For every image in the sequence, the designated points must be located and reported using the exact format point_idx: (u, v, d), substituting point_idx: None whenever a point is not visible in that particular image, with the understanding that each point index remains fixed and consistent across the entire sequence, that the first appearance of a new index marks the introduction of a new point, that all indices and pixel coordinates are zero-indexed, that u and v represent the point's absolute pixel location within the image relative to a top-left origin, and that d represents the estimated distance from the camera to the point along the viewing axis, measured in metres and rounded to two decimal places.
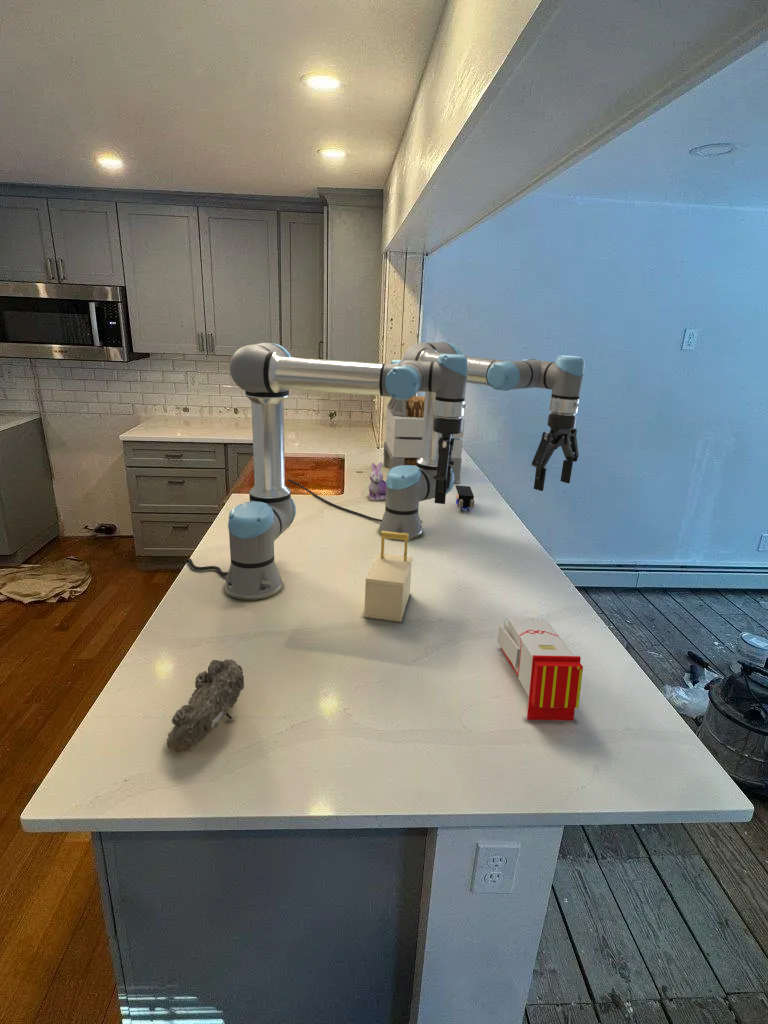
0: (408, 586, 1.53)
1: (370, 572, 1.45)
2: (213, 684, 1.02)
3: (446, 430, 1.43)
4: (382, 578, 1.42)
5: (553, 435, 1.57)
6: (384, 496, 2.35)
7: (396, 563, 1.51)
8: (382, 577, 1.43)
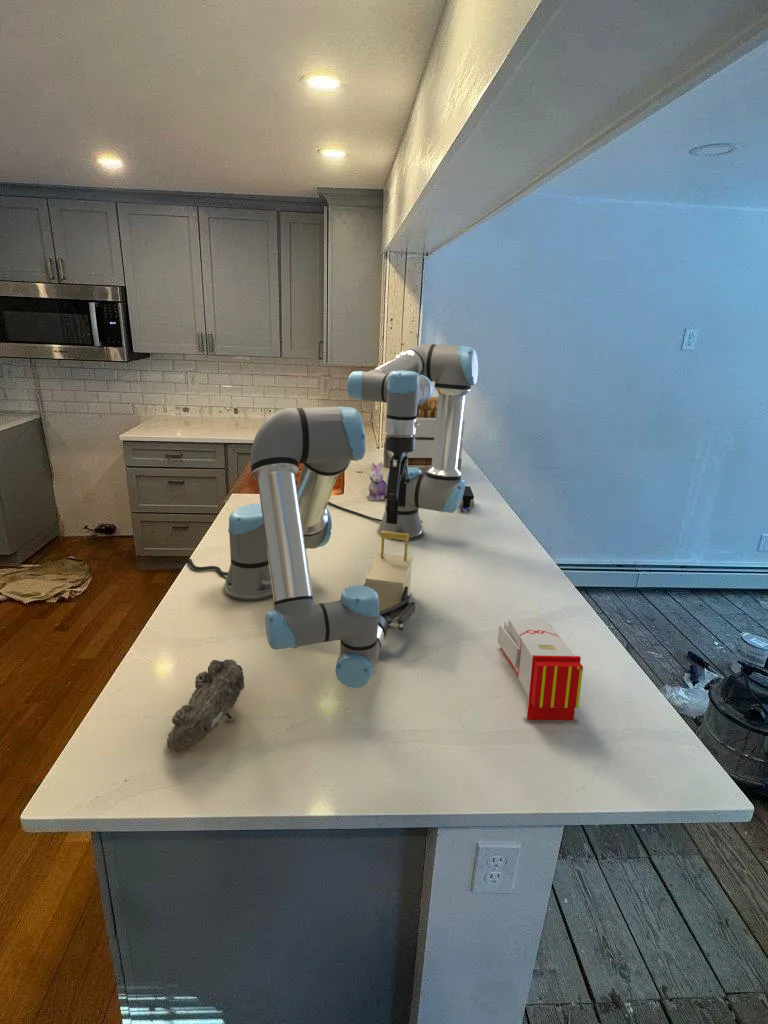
0: (408, 586, 1.53)
1: (370, 572, 1.45)
2: (213, 684, 1.02)
3: None
4: (382, 578, 1.42)
5: None
6: None
7: (396, 563, 1.51)
8: (382, 577, 1.43)
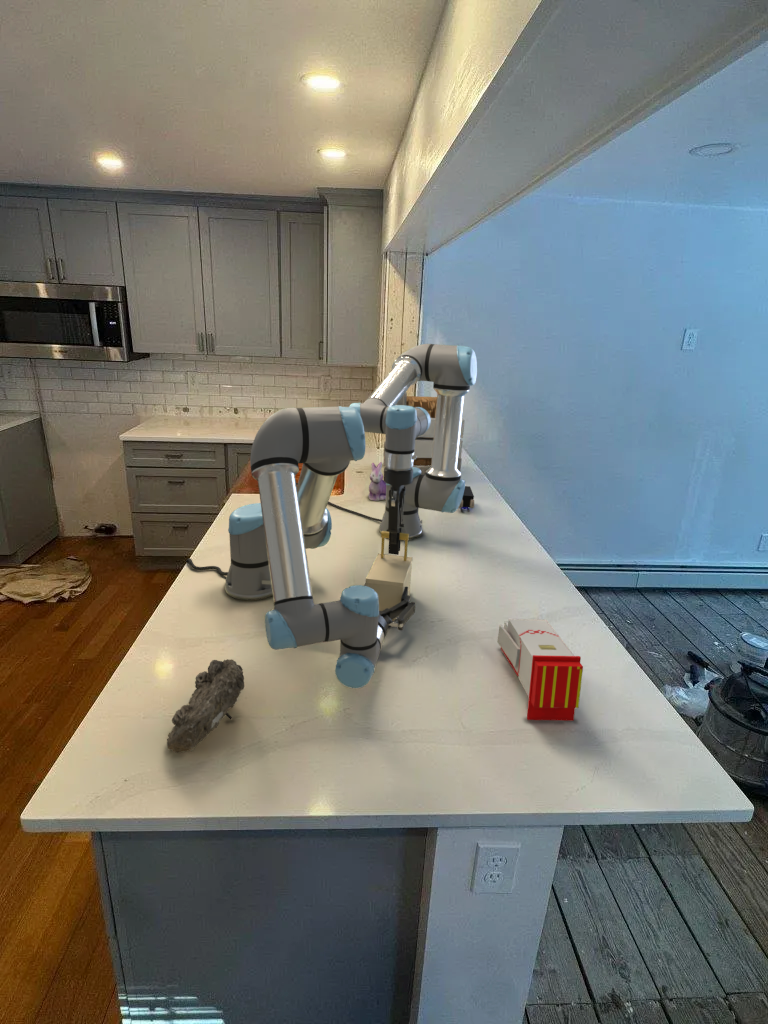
0: (408, 586, 1.53)
1: (370, 572, 1.45)
2: (213, 684, 1.02)
3: None
4: (382, 578, 1.42)
5: (397, 493, 1.43)
6: (384, 496, 2.35)
7: (396, 563, 1.51)
8: (382, 577, 1.42)
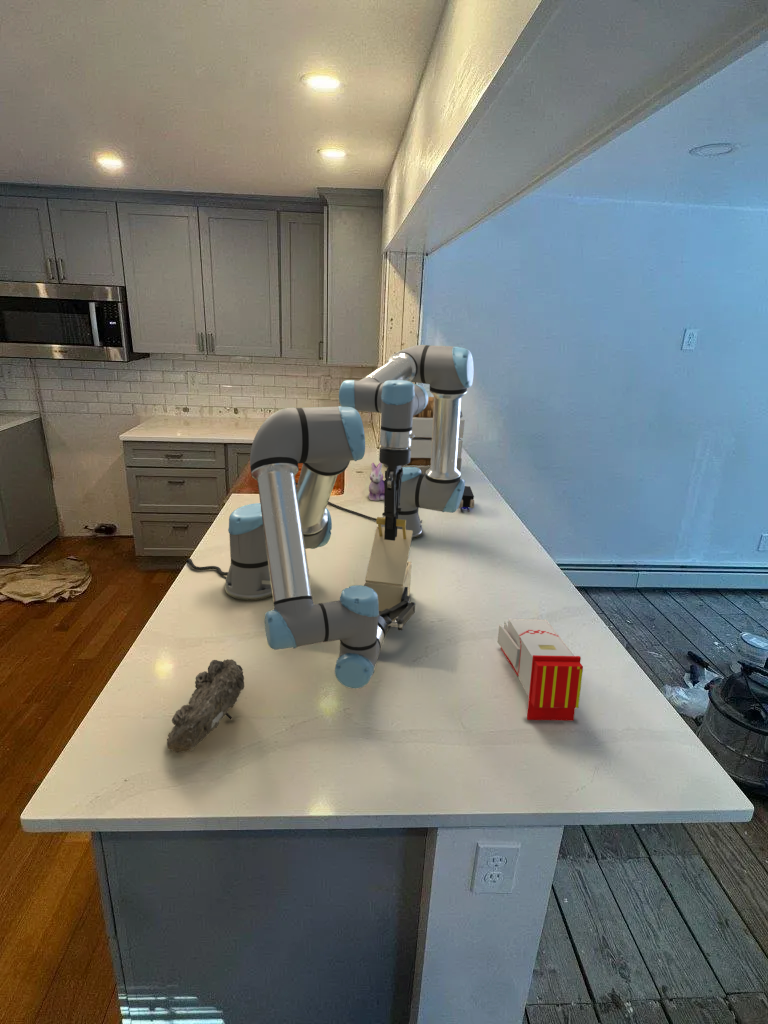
0: (408, 586, 1.52)
1: (369, 567, 1.43)
2: (213, 684, 1.02)
3: None
4: (381, 577, 1.41)
5: (393, 474, 1.34)
6: None
7: (396, 546, 1.46)
8: (381, 576, 1.41)
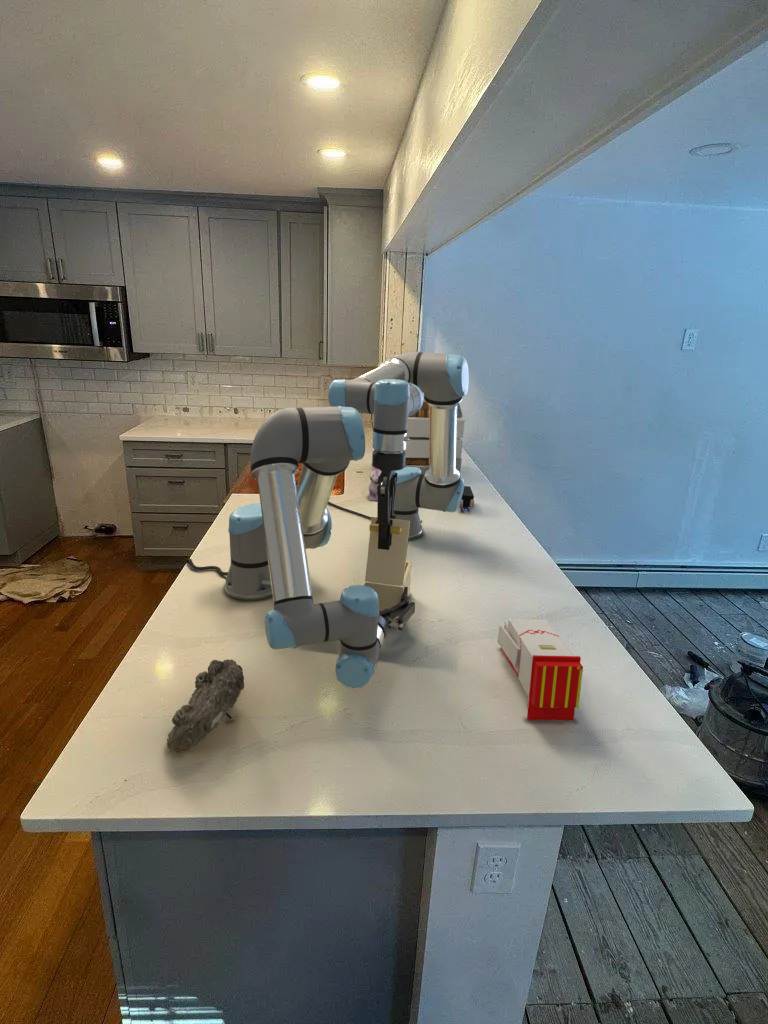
0: (408, 586, 1.53)
1: (368, 566, 1.41)
2: (213, 684, 1.02)
3: None
4: (381, 577, 1.41)
5: (387, 480, 1.25)
6: None
7: (393, 541, 1.40)
8: (381, 576, 1.41)
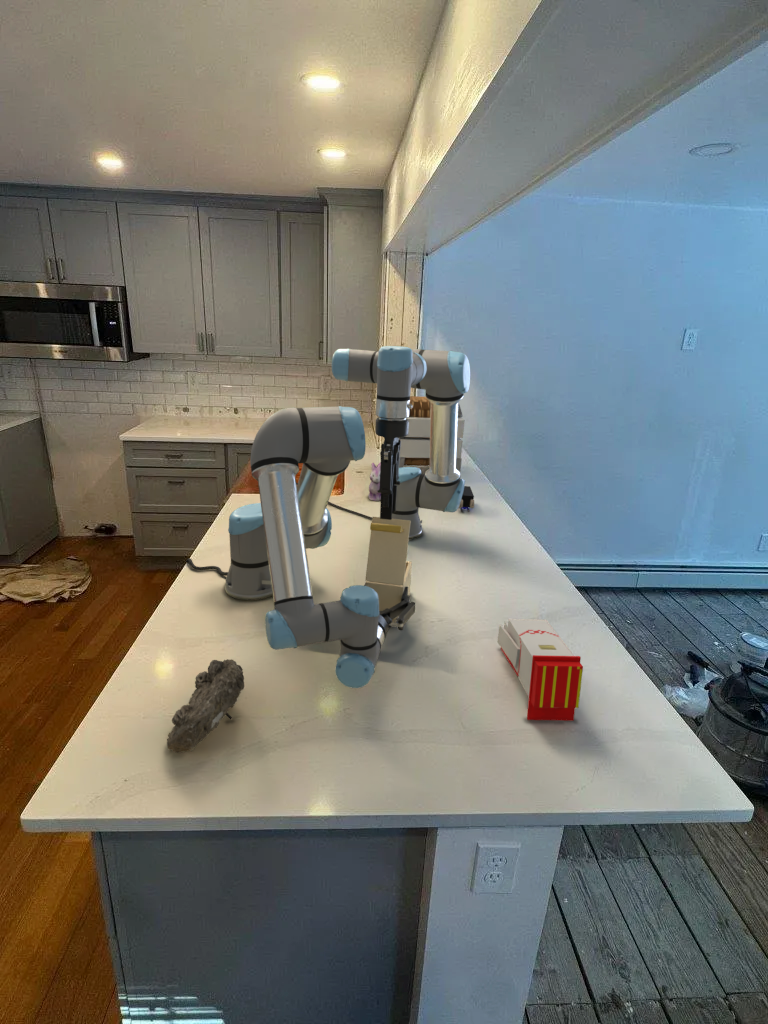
0: (408, 586, 1.53)
1: (368, 566, 1.41)
2: (213, 684, 1.02)
3: None
4: (381, 577, 1.41)
5: (391, 447, 1.25)
6: None
7: (394, 540, 1.41)
8: (381, 576, 1.41)
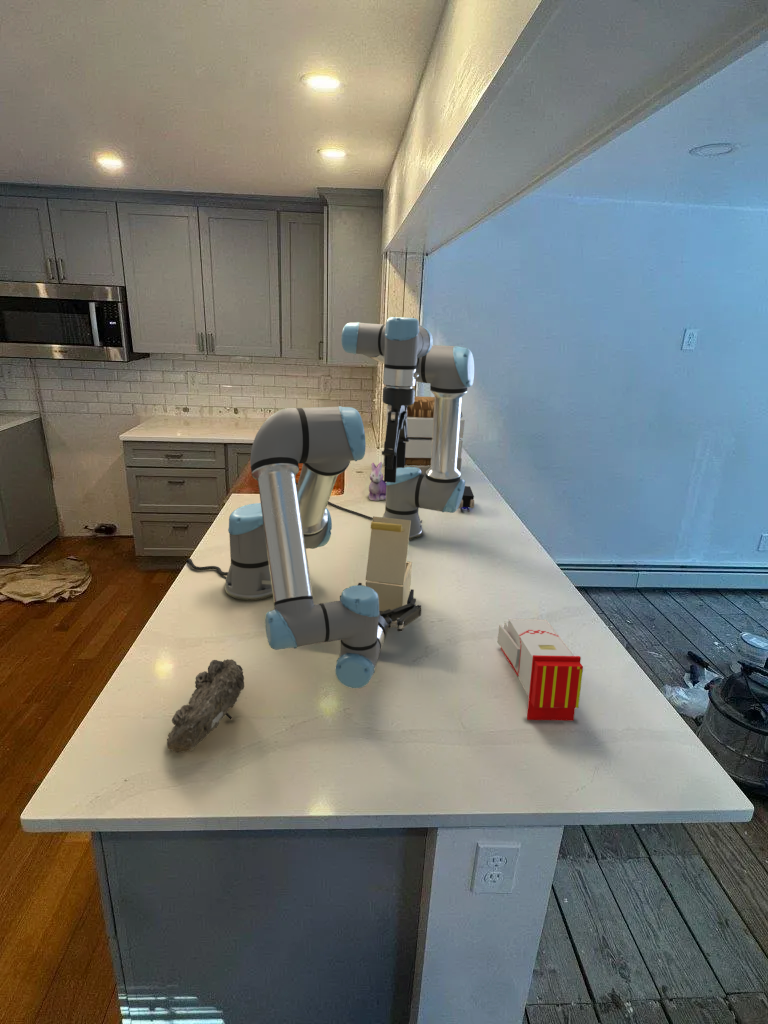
0: (408, 586, 1.53)
1: (368, 565, 1.42)
2: (213, 684, 1.02)
3: None
4: (381, 576, 1.41)
5: None
6: (384, 496, 2.35)
7: (394, 540, 1.41)
8: (381, 575, 1.41)
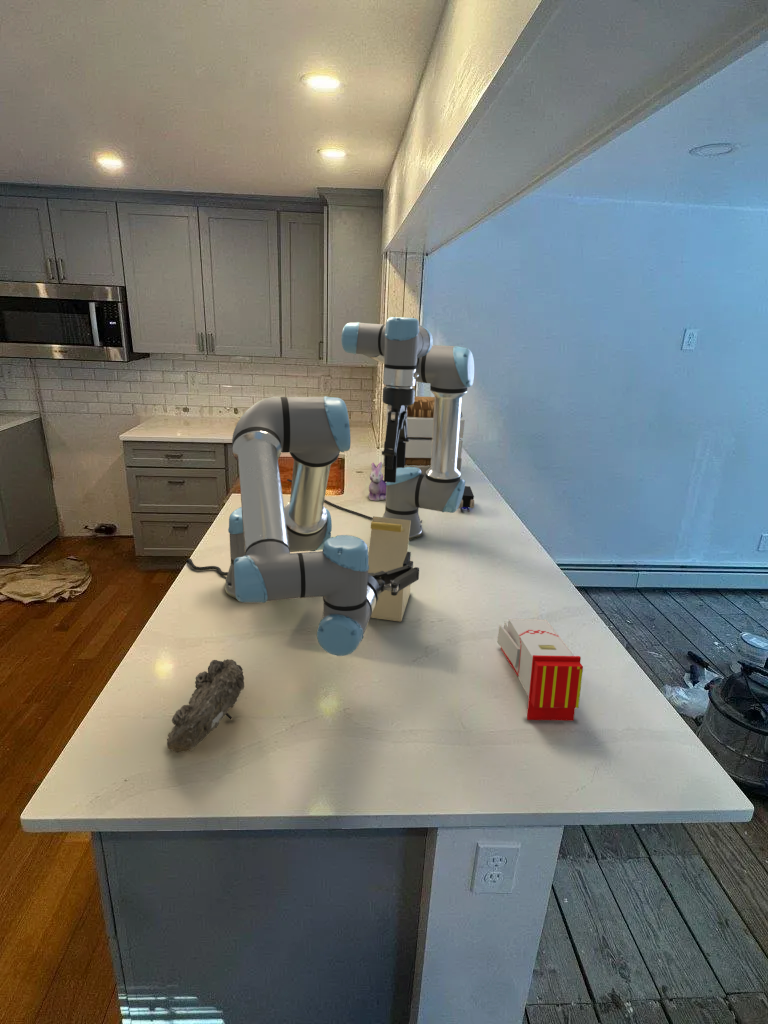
0: (408, 586, 1.53)
1: None
2: (213, 684, 1.02)
3: None
4: None
5: None
6: (384, 496, 2.35)
7: (394, 540, 1.41)
8: None
